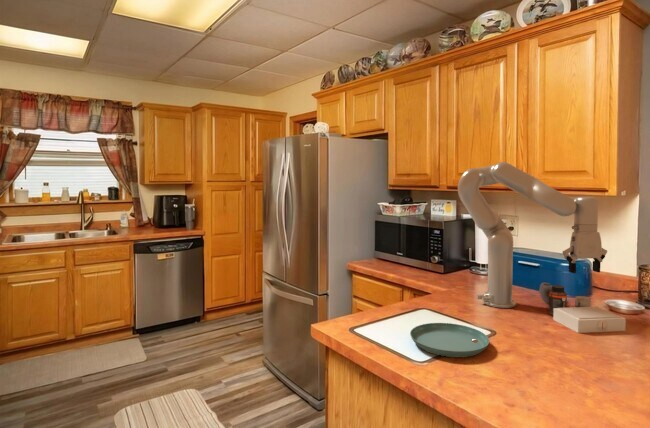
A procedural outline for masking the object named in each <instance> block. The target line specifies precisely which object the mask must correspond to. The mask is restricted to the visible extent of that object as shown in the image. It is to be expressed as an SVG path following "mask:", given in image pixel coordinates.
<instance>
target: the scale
mask: <svg viewBox="0 0 650 428" xmlns="http://www.w3.org/2000/svg"><path fill="white" fill-rule="evenodd" d="M552 316H553V317H552V320H553V321H555V322H556V323H559V324H561V325H563V326H564V327H566V328H568V329H570V330H571V331H573V332H576V333H578V334H583V333H607V332H610V333H611V332H626V324H627V321H626V320H627V318H626V317H624V316H621V315H618V314H617V313H613V312H611V311H608V310H606V309H605V308H604V309H603V308H601V307H599V306H590V307H575V306H574V307H573V306H572V307H571V306H570V307H569V306H568V307H567V308H554V312H553V315H552Z"/></svg>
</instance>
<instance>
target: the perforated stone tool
mask: <svg viewBox="0 0 650 428" xmlns="http://www.w3.org/2000/svg"><path fill="white" fill-rule="evenodd" d="M552 286H553V285H551V284H550V283H549V282H547V281H546V282H541V284H540V285H539V287H538V288H539V289H538V290H539V291H538V292H539V295H540V297H541V299H542V300H543V301H544V302H545V303H546V304H548V305H549V292H550V291H551V290H552Z"/></svg>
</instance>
